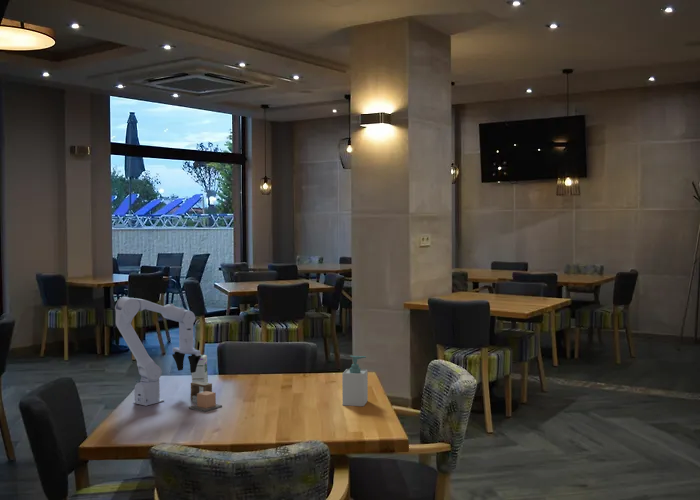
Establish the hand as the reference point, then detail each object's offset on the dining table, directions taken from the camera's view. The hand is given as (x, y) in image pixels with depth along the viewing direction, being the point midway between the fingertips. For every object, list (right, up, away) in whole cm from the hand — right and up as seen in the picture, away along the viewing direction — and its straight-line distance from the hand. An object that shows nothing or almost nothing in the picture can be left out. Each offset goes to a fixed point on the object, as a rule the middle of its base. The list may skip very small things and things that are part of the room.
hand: (186, 371), depth 300 cm
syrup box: (+3, -10, +13) cm, 17 cm away
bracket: (+7, -11, -6) cm, 14 cm away
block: (+12, -11, -18) cm, 24 cm away
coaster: (+11, -11, -18) cm, 24 cm away
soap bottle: (+70, -11, -12) cm, 72 cm away
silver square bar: (+7, -11, -6) cm, 14 cm away
